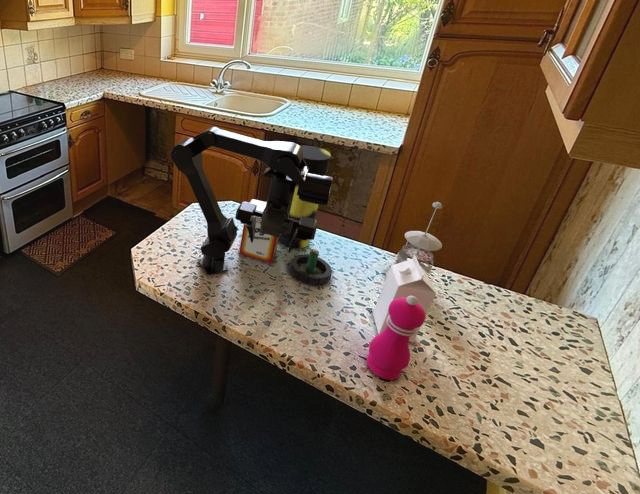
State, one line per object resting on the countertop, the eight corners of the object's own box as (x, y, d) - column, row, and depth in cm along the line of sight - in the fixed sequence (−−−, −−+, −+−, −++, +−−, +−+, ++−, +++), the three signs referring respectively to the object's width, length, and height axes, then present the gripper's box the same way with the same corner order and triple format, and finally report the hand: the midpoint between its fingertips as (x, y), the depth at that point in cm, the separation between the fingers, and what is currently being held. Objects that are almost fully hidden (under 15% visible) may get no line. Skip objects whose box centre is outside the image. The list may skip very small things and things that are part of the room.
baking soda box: (275, 251, 121) (285, 206, 113) (271, 263, 116) (281, 217, 108) (244, 242, 125) (252, 197, 118) (239, 253, 120) (246, 208, 112)
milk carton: (405, 320, 97) (432, 258, 88) (413, 343, 91) (443, 279, 82) (372, 313, 99) (396, 251, 90) (378, 334, 93) (404, 271, 84)
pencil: (303, 270, 113) (309, 248, 109) (309, 269, 113) (315, 246, 110) (308, 275, 111) (314, 252, 107) (315, 274, 111) (321, 251, 108)
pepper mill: (408, 385, 81) (444, 314, 72) (370, 379, 83) (400, 308, 74) (394, 355, 88) (425, 286, 79) (359, 350, 89) (386, 281, 80)
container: (310, 252, 120) (334, 162, 107) (273, 245, 123) (291, 157, 110) (308, 233, 129) (329, 147, 116) (273, 226, 132) (290, 143, 119)
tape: (282, 264, 115) (283, 257, 114) (312, 258, 118) (314, 251, 117) (305, 288, 106) (307, 281, 105) (337, 281, 109) (340, 274, 108)
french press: (388, 287, 107) (419, 208, 95) (381, 262, 116) (409, 186, 105) (431, 297, 104) (469, 216, 92) (421, 270, 113) (454, 194, 102)
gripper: (233, 199, 94) (225, 253, 101) (318, 221, 86) (304, 277, 93) (245, 180, 102) (237, 230, 109) (324, 198, 94) (310, 251, 101)
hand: (270, 247), depth 103 cm, fingers open, 9 cm apart
